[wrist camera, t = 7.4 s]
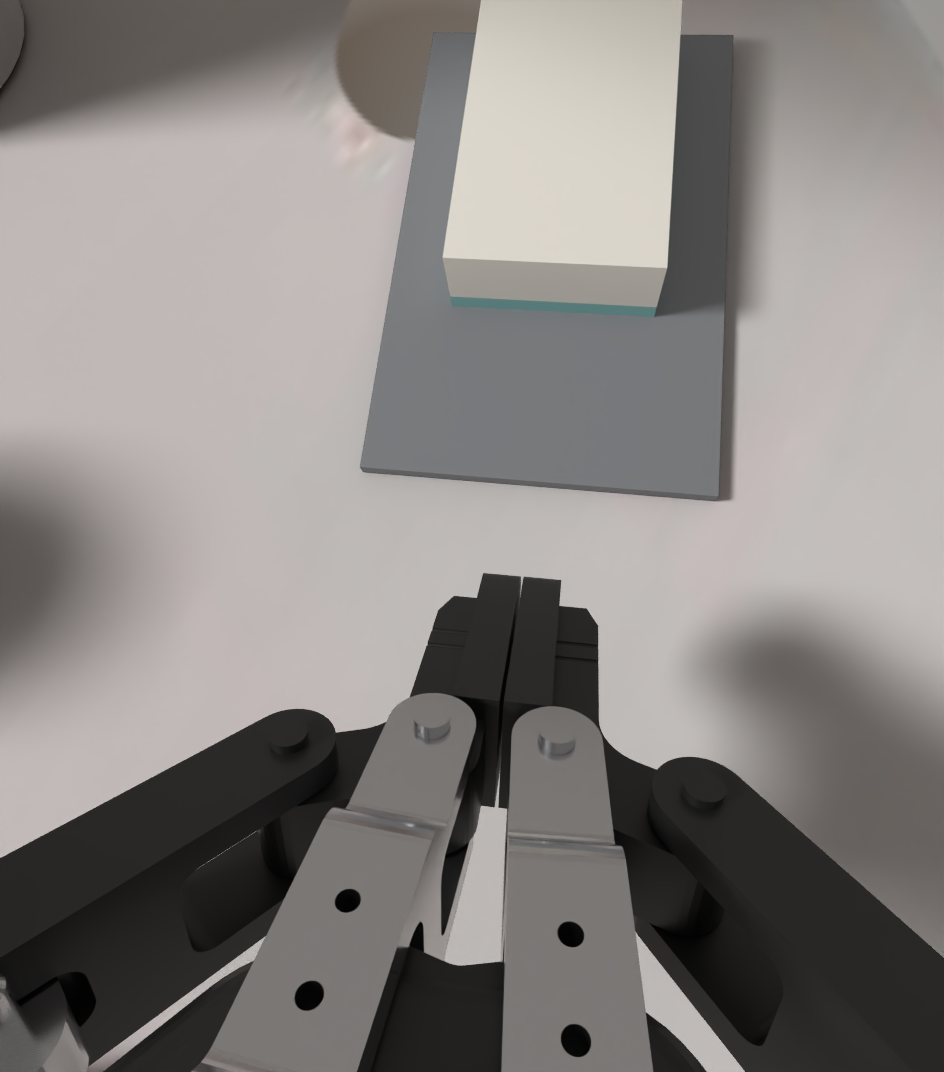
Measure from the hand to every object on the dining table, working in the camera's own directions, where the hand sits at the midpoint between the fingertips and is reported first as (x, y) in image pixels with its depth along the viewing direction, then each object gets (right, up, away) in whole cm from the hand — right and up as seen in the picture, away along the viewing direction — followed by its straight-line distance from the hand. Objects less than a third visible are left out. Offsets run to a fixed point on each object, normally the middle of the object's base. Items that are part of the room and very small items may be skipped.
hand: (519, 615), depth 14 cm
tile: (+1, +9, +6) cm, 11 cm away
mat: (+2, +11, +9) cm, 14 cm away
